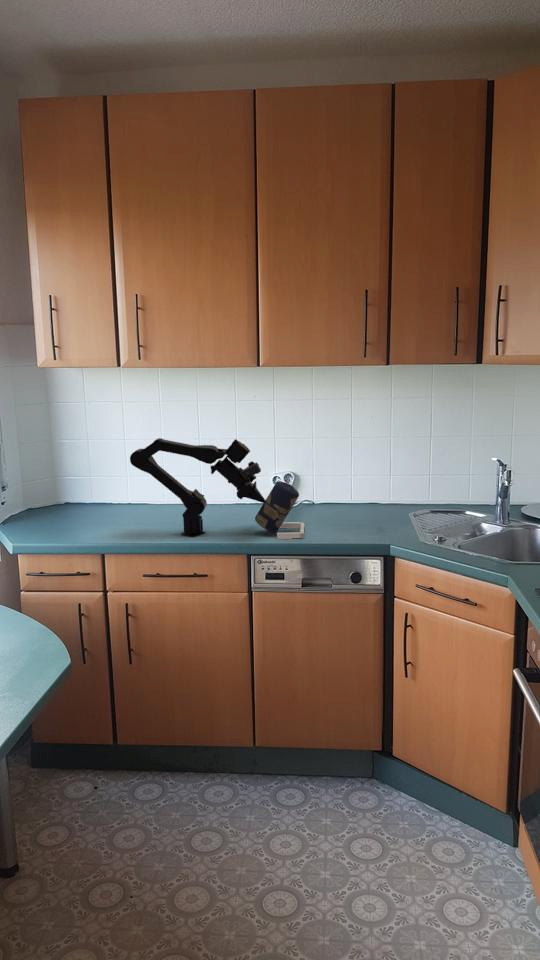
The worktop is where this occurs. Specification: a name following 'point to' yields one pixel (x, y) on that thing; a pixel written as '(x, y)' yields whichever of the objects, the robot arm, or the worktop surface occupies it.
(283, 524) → the block
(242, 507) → the worktop surface
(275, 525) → the canister
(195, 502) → the robot arm
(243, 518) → the worktop surface
